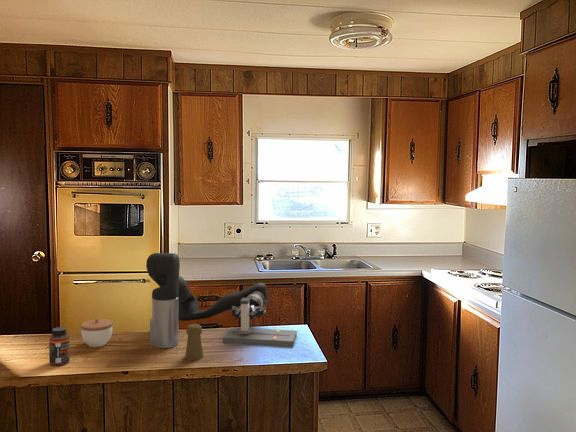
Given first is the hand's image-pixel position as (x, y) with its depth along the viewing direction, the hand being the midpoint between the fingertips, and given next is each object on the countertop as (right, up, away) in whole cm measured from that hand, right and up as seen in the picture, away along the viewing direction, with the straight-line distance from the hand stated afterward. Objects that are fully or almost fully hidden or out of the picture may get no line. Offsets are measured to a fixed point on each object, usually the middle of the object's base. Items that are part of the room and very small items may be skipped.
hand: (243, 317), depth 178 cm
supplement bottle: (-57, -10, -23) cm, 63 cm away
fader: (0, -6, +3) cm, 7 cm away
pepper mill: (-15, -10, -16) cm, 24 cm away
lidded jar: (-52, -9, -5) cm, 53 cm away
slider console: (+6, -9, +3) cm, 11 cm away
